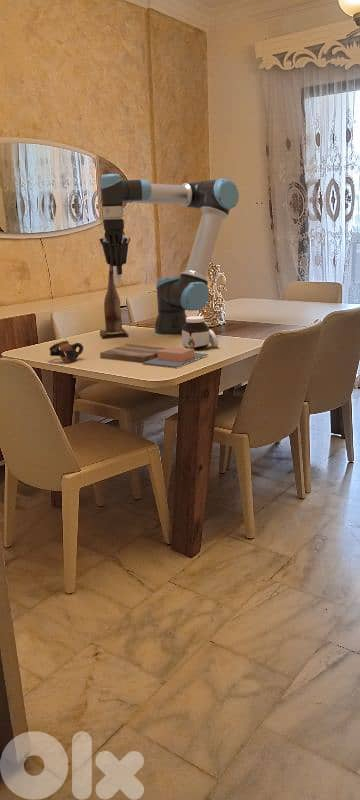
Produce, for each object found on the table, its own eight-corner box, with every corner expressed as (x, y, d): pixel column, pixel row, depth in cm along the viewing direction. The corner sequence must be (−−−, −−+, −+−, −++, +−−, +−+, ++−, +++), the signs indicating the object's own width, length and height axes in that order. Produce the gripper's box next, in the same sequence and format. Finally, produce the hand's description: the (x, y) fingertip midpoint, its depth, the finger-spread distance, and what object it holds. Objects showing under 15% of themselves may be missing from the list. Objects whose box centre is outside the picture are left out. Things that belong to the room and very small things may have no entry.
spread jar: (179, 348, 240) (178, 317, 236) (200, 343, 247) (199, 313, 244) (202, 352, 231) (201, 320, 228) (223, 347, 239) (222, 316, 236)
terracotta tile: (170, 354, 227) (170, 346, 226) (194, 357, 221) (194, 348, 220) (157, 359, 220) (157, 351, 219) (181, 362, 215) (181, 353, 214)
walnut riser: (127, 349, 242) (127, 344, 242) (171, 353, 232) (170, 348, 231) (100, 357, 230) (100, 352, 229) (145, 363, 219) (144, 357, 218)
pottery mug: (56, 367, 221) (47, 345, 222) (56, 373, 230) (46, 352, 231) (88, 354, 224) (79, 333, 225) (86, 360, 234) (77, 340, 234)
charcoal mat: (175, 352, 233) (175, 351, 233) (208, 355, 225) (207, 354, 225) (142, 364, 217) (142, 362, 217) (176, 368, 209) (176, 366, 209)
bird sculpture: (103, 340, 264) (98, 261, 254) (98, 334, 275) (93, 259, 265) (129, 338, 267) (125, 260, 257) (124, 332, 277) (120, 257, 267)
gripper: (93, 219, 234) (98, 284, 241) (120, 218, 227) (125, 285, 234) (106, 218, 240) (110, 281, 247) (133, 217, 233) (137, 282, 240)
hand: (117, 283), depth 240 cm, fingers closed
